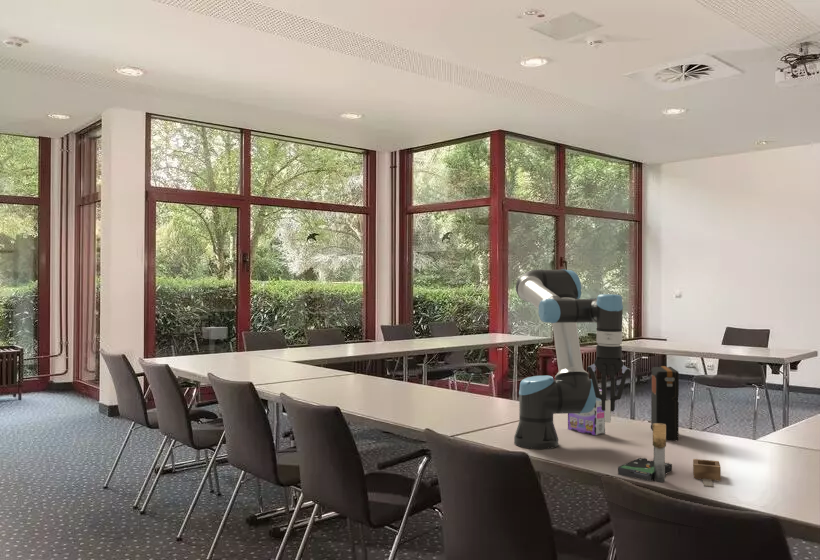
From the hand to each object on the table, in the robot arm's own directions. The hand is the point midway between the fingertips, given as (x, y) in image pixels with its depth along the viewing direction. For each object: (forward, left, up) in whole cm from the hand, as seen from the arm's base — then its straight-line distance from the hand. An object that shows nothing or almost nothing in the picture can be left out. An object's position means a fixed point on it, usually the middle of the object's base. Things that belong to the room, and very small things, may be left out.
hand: (607, 421), depth 210 cm
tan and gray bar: (+15, -10, -14) cm, 23 cm away
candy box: (-12, +48, -14) cm, 51 cm away
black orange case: (+16, +51, -14) cm, 55 cm away
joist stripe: (+28, -1, -14) cm, 31 cm away
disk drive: (+11, -3, -15) cm, 18 cm away
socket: (+28, -1, -14) cm, 31 cm away
